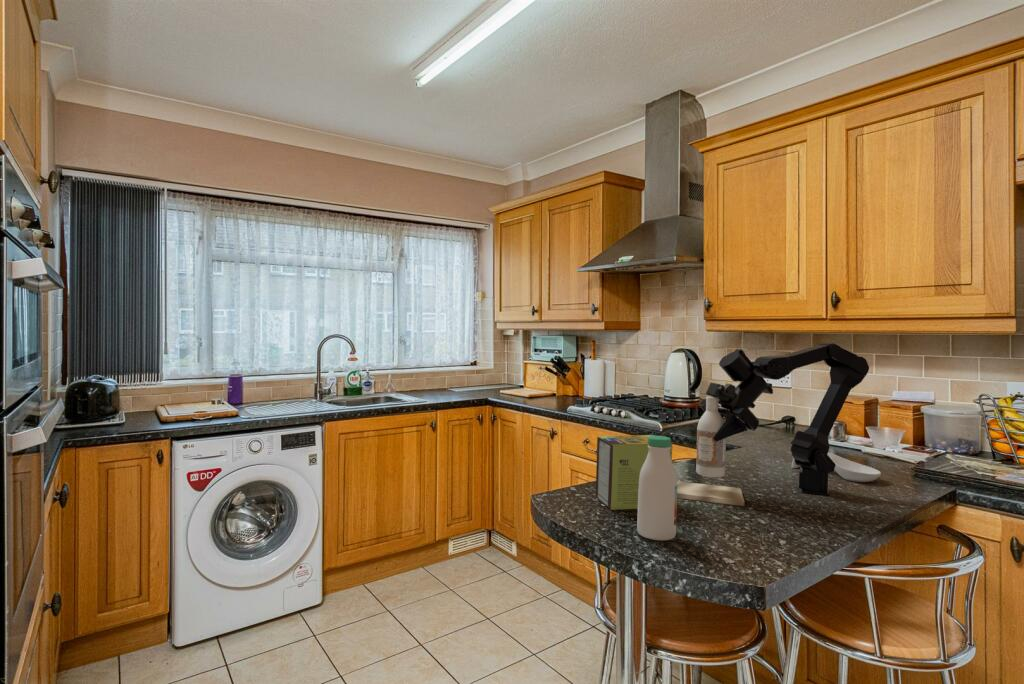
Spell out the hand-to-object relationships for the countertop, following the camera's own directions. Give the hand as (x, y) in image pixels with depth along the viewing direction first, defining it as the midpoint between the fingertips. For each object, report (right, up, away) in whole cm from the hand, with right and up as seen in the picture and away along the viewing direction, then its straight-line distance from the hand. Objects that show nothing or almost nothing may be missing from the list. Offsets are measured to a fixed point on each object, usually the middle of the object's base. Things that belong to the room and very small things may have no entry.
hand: (706, 437), depth 139 cm
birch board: (+1, -15, +1) cm, 15 cm away
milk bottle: (-20, -15, -28) cm, 38 cm away
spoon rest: (+48, -17, +26) cm, 57 cm away
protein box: (-21, -15, -7) cm, 26 cm away
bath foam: (+1, -10, 0) cm, 10 cm away
